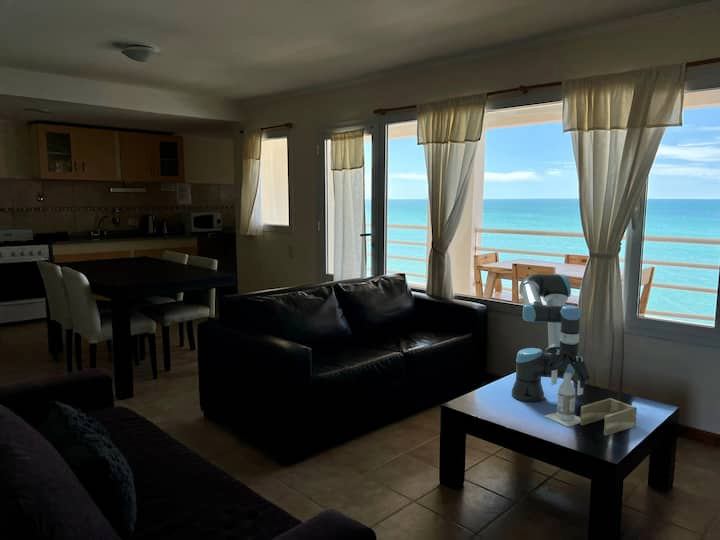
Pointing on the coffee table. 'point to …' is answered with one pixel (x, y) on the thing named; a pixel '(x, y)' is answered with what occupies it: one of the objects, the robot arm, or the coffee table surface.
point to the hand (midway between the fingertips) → (566, 389)
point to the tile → (563, 422)
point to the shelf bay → (609, 415)
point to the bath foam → (566, 399)
